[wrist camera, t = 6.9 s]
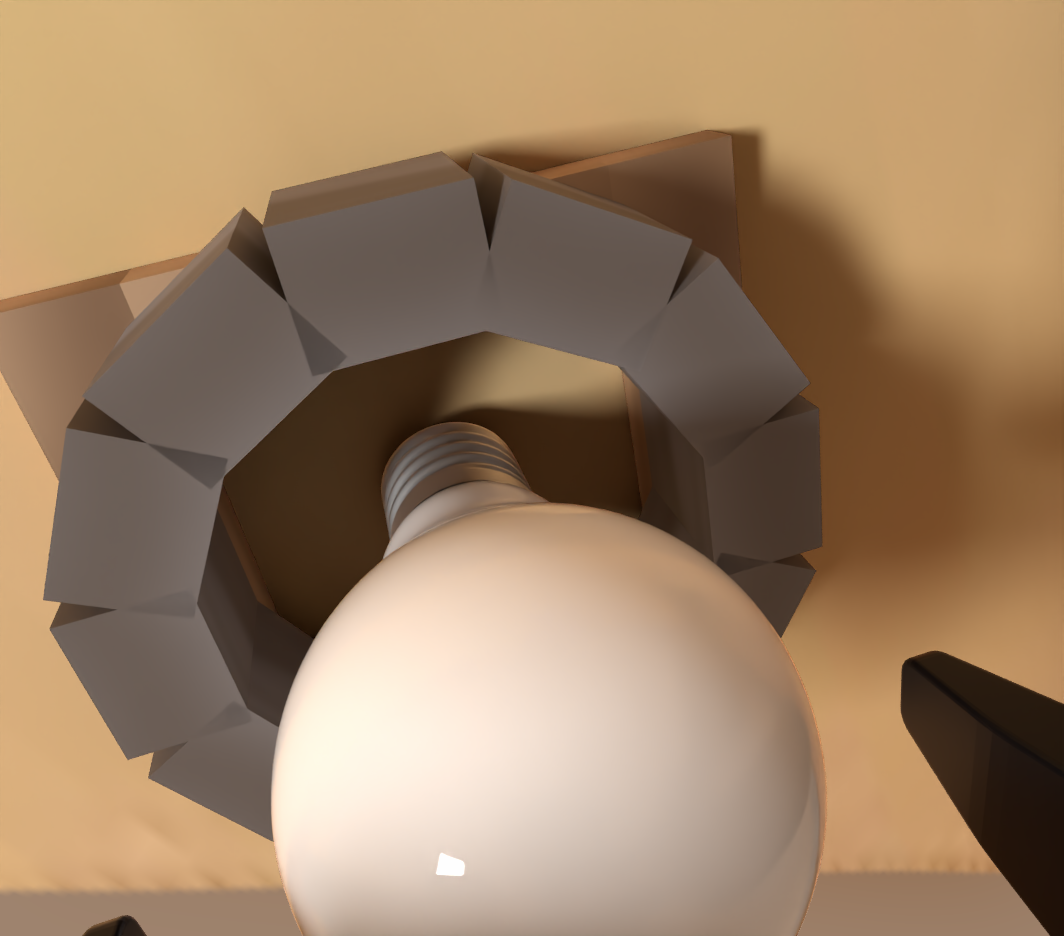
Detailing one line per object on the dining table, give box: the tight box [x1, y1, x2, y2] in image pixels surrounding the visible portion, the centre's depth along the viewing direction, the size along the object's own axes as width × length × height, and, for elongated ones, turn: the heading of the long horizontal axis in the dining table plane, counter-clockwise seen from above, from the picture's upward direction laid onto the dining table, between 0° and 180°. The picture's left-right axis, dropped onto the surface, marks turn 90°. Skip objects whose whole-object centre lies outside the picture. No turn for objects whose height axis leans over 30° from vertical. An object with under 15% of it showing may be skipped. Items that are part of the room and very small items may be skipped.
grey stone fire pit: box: [0, 130, 822, 842], centre depth 15 cm, size 12×12×4 cm
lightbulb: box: [271, 422, 827, 936], centre depth 12 cm, size 6×6×11 cm
